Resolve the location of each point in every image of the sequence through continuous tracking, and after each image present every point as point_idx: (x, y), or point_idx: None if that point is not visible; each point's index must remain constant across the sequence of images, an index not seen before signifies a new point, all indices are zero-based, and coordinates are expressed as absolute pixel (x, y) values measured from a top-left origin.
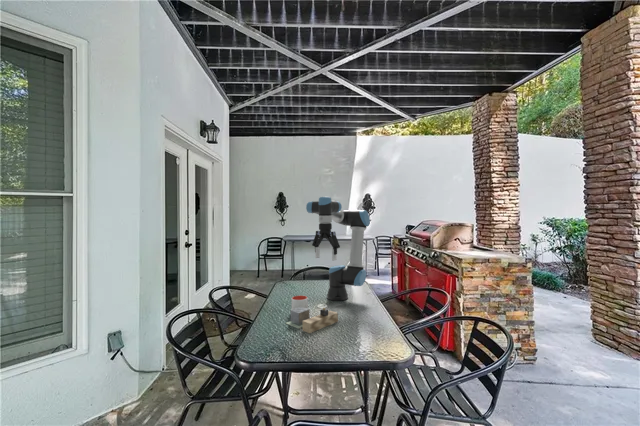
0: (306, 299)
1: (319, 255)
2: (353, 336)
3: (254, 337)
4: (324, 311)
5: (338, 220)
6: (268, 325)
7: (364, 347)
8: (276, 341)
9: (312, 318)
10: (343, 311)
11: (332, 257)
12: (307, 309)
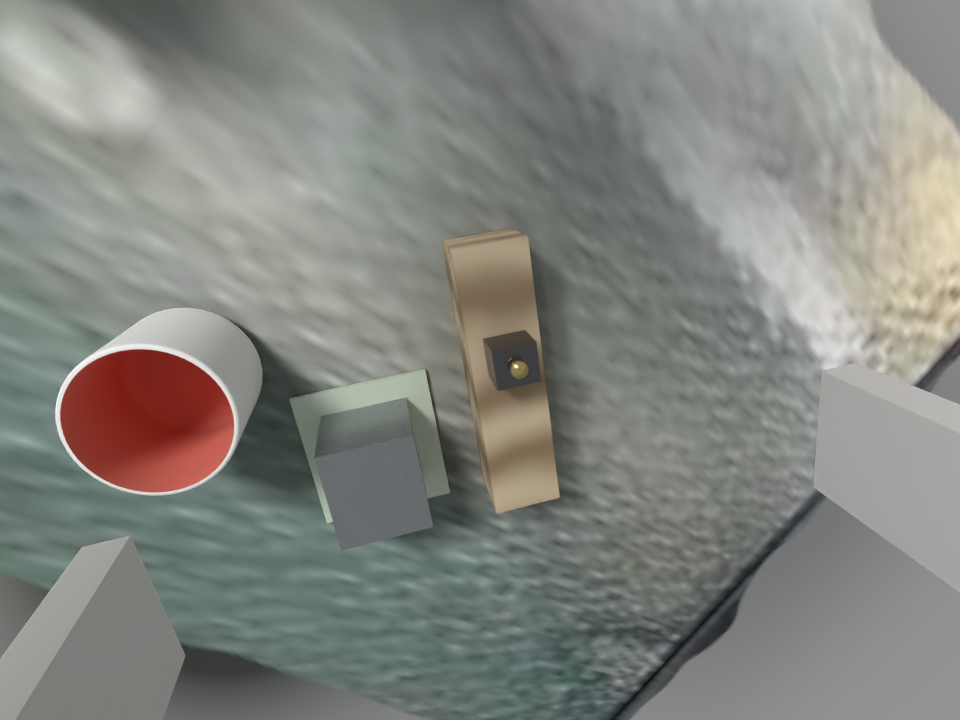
0: (227, 384)
1: (94, 597)
2: (727, 300)
3: (409, 690)
4: (540, 379)
5: None
6: (295, 606)
7: (833, 338)
8: (514, 624)
9: (501, 446)
10: (353, 18)
11: (889, 533)
12: (402, 445)
